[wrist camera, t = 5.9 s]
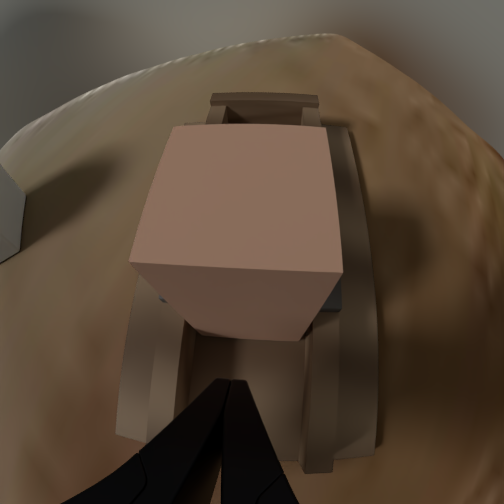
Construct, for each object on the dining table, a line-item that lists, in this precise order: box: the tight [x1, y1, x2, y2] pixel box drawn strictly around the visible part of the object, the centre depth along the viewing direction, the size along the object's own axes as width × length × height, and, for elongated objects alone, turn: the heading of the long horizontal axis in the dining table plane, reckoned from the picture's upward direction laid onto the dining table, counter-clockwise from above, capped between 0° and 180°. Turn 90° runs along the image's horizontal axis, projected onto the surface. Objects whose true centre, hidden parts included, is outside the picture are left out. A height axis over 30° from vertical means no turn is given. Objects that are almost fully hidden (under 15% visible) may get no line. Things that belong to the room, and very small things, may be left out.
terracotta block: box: [129, 124, 343, 341], centre depth 11 cm, size 5×5×9 cm
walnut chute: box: [116, 92, 378, 474], centre depth 16 cm, size 24×14×4 cm, turn 176°
